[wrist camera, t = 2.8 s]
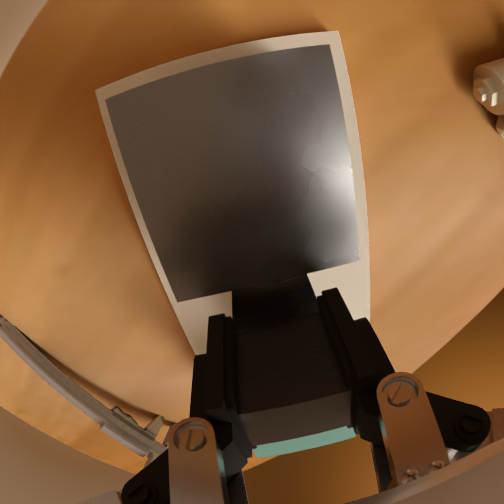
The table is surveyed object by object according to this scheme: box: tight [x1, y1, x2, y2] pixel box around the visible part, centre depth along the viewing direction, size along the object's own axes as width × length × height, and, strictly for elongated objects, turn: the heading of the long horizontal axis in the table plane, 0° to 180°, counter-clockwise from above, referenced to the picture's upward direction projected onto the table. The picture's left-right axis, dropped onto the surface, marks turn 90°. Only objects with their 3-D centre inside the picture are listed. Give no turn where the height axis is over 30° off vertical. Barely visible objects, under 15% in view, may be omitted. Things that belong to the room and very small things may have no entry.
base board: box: [95, 31, 370, 355], centre depth 18 cm, size 12×23×1 cm, turn 13°
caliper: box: [0, 316, 177, 468], centre depth 20 cm, size 20×1×6 cm, turn 47°
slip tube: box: [232, 274, 351, 446], centre depth 11 cm, size 3×14×9 cm, turn 13°
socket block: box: [252, 426, 356, 458], centre depth 18 cm, size 6×5×6 cm
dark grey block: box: [105, 44, 360, 302], centre depth 12 cm, size 6×7×6 cm
